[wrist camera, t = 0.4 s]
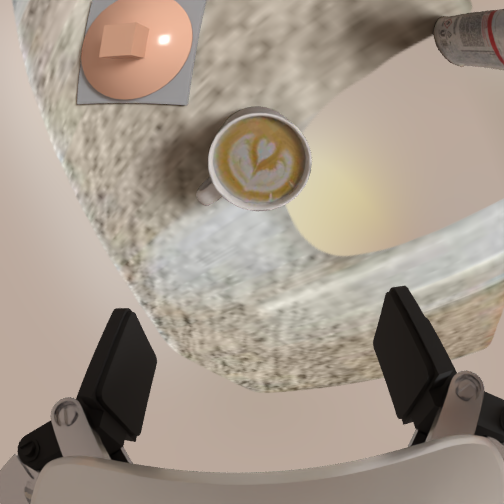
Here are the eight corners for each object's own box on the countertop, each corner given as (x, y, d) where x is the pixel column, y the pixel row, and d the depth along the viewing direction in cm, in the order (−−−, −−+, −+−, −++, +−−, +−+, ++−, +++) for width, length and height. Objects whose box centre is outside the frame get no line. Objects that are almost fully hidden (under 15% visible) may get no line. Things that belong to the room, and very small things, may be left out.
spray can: (451, 76, 28) (556, 97, 11) (420, 29, 25) (525, 19, 8) (478, 54, 25) (576, 68, 8) (450, 9, 22) (548, 0, 5)
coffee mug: (276, 93, 32) (285, 95, 23) (308, 162, 36) (326, 187, 28) (180, 141, 35) (158, 160, 26) (217, 203, 39) (208, 239, 31)
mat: (94, -1, 22) (92, -1, 22) (208, -9, 24) (207, -10, 23) (79, 103, 31) (76, 104, 30) (187, 105, 32) (186, 105, 32)
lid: (94, 1, 22) (74, -7, 17) (202, -7, 24) (195, -21, 19) (80, 100, 30) (57, 105, 25) (183, 101, 31) (172, 103, 27)
